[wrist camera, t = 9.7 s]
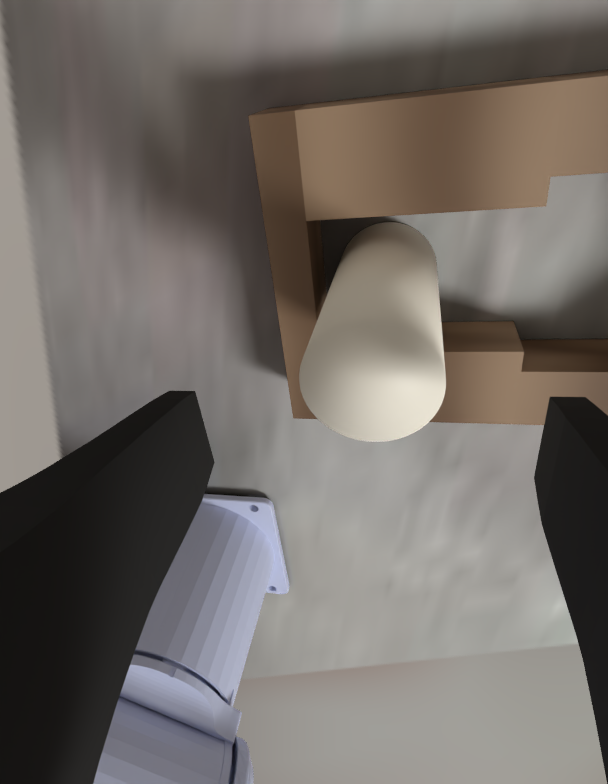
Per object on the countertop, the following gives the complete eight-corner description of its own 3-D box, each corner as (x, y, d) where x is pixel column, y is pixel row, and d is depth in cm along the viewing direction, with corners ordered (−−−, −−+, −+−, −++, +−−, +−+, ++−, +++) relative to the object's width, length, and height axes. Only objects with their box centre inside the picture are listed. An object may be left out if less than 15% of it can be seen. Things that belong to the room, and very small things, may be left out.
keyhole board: (304, 386, 22) (293, 418, 20) (268, 108, 16) (247, 115, 15) (713, 391, 19) (746, 430, 17) (855, 41, 13) (932, 39, 11)
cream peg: (341, 313, 20) (304, 437, 14) (338, 223, 18) (293, 317, 12) (433, 314, 19) (440, 446, 13) (440, 220, 17) (453, 319, 11)
